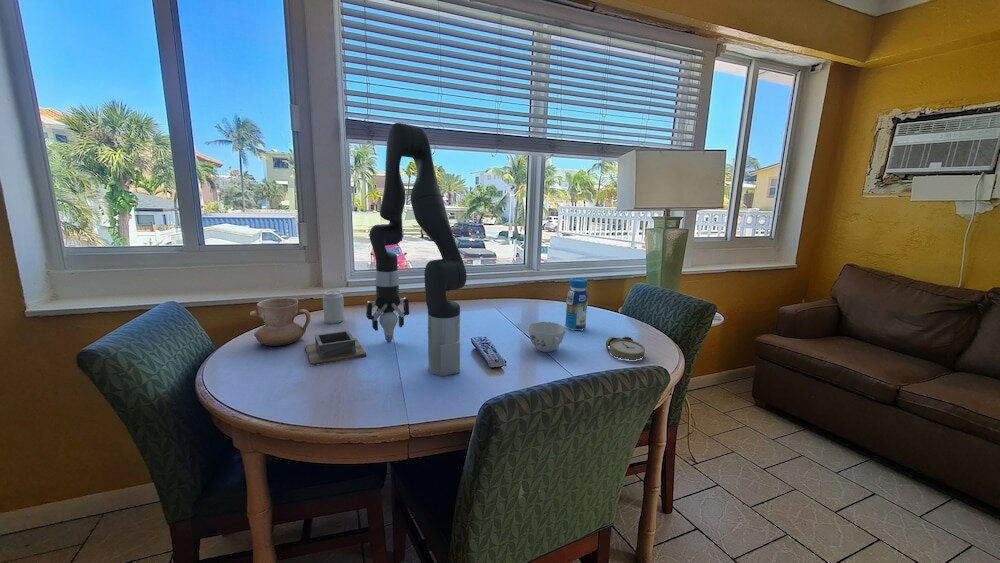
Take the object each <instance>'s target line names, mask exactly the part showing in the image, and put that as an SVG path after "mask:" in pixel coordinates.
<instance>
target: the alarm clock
mask: <svg viewBox="0 0 1000 563" xmlns="http://www.w3.org/2000/svg"><path fill="white" fill-rule="evenodd" d="M608 346H610V349H609V351H610V353H611V354H612V355H613V356H615V357H618V358H621V359H629V360H636V359H640V358H642V357H643V359H646V358H647V357H646V356H645V352H646V348H645V347H644V345H643V344H642V343H639V342H637V341H635V340H634V339H633V338H631V337H629V336H623V337H622V338H621V337H612V336H611V337H608V339H606V341H605V349H607V350H608ZM609 351H608V352H609ZM610 353H609V354H610Z"/></svg>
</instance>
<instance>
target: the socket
mask: <svg viewBox="0 0 1000 563" xmlns="http://www.w3.org/2000/svg"><path fill="white" fill-rule="evenodd" d="M305 351H306V353H307V356H308V359H309V360H308V361H309V363H310V366H311V365H315V366H318V365H317V364H320V365H325V364H324V363H326V364H331V363H330V362H332V363H336V361H338V362H344V361H348V360H349V361H350V360H354V359H360V358H364V357H367V352H366V350H365V348H363V346H362V345H361V343H360V342H359V340H358V339H357V337H353V335H352V333H351V332H350V330H341V331H334V332H328V333H321V334H320V333H319V334H314V343H311V344H306V345H305Z"/></svg>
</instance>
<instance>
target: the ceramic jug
mask: <svg viewBox="0 0 1000 563" xmlns="http://www.w3.org/2000/svg"><path fill="white" fill-rule="evenodd" d="M256 305H257V306H256V307H257V310H252V311H250V313H249V315H250V316H251V317H252V316H257V317H260V318H261V319H262V321H263V322H264V323H265V324H264V325H262V326H261V327H260V328H258V330H257V331H255V332H254V333H253V335H254V337H255V339H256V341H257V342H259V344H262V345H265V346H270V347H271V346H272V347H273V346H274V347H275V346H276V347H277V346H286V345H289V344H292V343H294V342H296V341H297V342H298V340H300V339H301V338H302V337H303V336H304V335H305V333H306V331H307V328H308V326H309V324H310V321H311V314H310V312H309V310H307V309H303V308H301V309H298V308H299V300H298V299H297V298H293V297H274V298H269V299H264V300H263V299H262V300H261V301H259V302H257V304H256ZM299 314H304V315H305V323H304V325H303V326H302V325H300V323H298V322H295V318H296V317H297V316H298V315H299Z"/></svg>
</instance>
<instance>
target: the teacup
mask: <svg viewBox="0 0 1000 563" xmlns="http://www.w3.org/2000/svg"><path fill="white" fill-rule="evenodd" d="M527 328H528V336H529V339H530V341H531V343H532V344H533V346H534V347H535V348H536V349H537V350H538V351H540V352H544V353H550V352H554V351H556V350H558V349H559V348H560V344H562V342H563V339H564V336H565V334H566V327H565V325H563V324H561V323H556V322H551V321H538V322H534V323H531V324H530V325H528V327H527Z"/></svg>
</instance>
